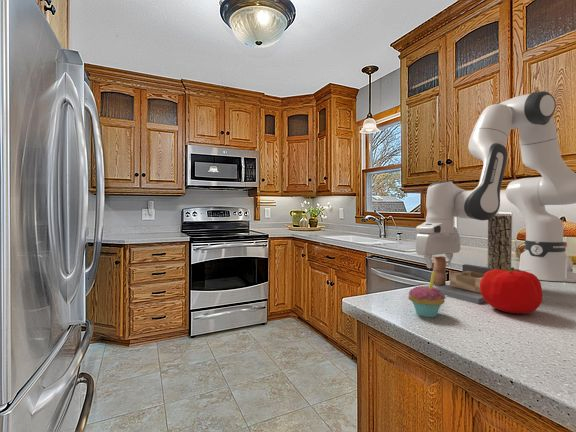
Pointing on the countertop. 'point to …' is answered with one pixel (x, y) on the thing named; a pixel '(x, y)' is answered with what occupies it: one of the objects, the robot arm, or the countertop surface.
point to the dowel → (439, 271)
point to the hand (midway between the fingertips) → (438, 266)
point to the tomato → (511, 290)
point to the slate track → (463, 293)
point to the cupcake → (426, 299)
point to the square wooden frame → (466, 280)
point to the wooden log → (499, 241)
